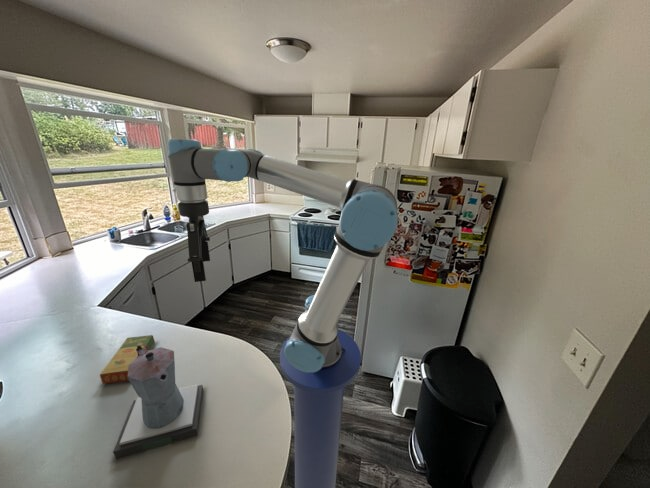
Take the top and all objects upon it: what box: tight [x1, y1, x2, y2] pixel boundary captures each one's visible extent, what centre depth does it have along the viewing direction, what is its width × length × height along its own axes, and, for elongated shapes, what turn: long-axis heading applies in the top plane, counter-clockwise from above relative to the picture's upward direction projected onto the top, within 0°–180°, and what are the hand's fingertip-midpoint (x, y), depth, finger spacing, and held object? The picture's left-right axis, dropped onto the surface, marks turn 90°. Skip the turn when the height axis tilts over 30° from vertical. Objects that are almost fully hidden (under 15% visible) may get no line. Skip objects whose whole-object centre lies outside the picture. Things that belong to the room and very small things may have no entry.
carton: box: [99, 334, 156, 385], centre depth 82 cm, size 8×16×4 cm, turn 12°
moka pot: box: [128, 345, 184, 429], centre depth 61 cm, size 10×15×20 cm, turn 58°
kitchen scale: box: [112, 384, 204, 460], centre depth 65 cm, size 17×13×3 cm
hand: (203, 270), depth 75 cm, fingers open, 13 cm apart
